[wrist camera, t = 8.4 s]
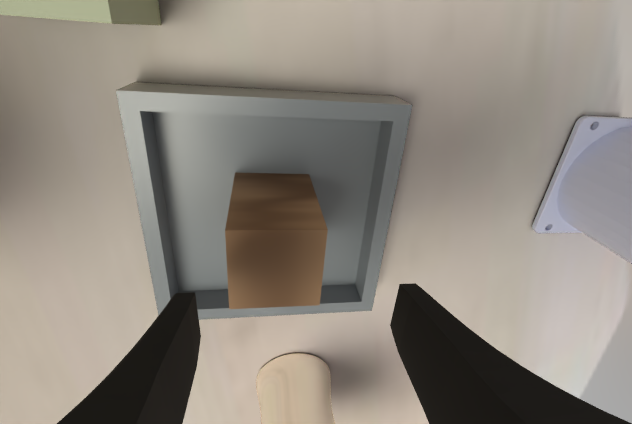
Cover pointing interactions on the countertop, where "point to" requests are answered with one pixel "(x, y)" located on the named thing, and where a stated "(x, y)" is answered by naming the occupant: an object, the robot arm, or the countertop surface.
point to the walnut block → (274, 241)
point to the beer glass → (295, 390)
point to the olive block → (87, 10)
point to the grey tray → (260, 157)
